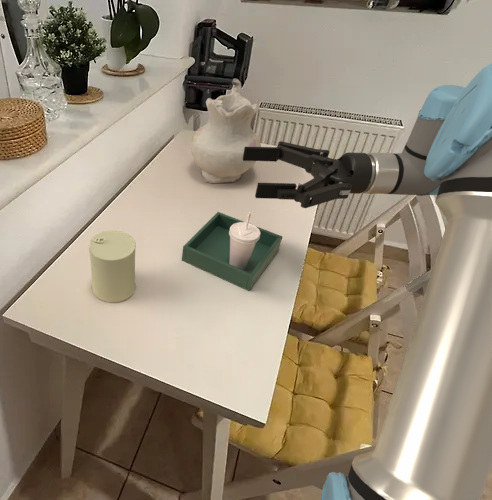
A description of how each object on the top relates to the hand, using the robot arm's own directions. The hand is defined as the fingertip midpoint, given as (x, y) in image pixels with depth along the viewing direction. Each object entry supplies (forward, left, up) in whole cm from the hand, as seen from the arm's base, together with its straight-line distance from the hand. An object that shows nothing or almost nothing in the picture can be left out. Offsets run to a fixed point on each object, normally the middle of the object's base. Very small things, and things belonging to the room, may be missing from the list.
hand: (249, 170), depth 80 cm
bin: (+2, -4, -24) cm, 25 cm away
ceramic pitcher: (+21, -37, -25) cm, 49 cm away
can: (+17, +20, -25) cm, 36 cm away
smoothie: (-1, -1, -24) cm, 24 cm away
